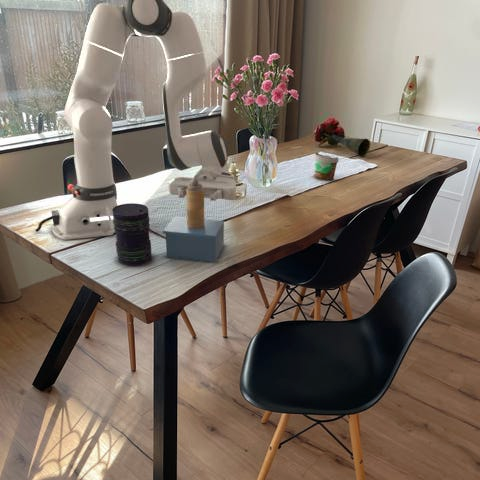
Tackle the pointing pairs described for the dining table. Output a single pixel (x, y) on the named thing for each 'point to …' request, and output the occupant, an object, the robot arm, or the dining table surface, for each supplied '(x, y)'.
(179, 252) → the storage box
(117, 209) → the black cylinder
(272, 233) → the dining table surface
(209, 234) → the box lid
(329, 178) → the food container
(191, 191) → the pepper mill
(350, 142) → the red rose bouquet
